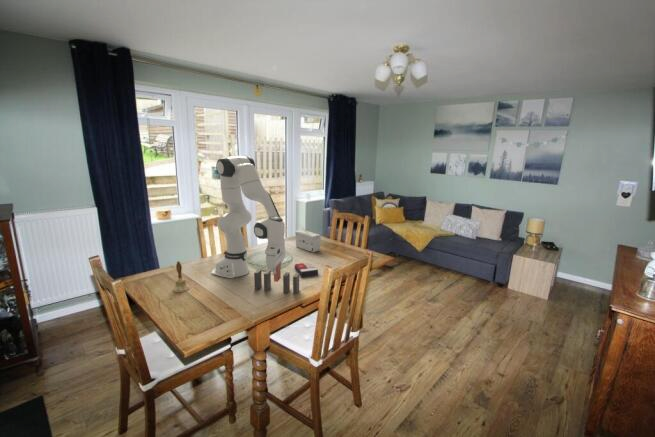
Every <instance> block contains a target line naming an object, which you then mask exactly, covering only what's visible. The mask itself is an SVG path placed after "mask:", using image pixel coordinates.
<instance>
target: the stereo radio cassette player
mask: <svg viewBox="0 0 655 437" xmlns="http://www.w3.org/2000/svg"><path fill="white" fill-rule="evenodd" d="M296 223H297V224H299V223H298V222H296ZM300 227H301V228H302V229H298V230H295V246H296V248H299V249H302V250H305V251H308V252H311V253H315V252H319V251H320V250H321V241H322V240H321V239H322V238H321V234H318V233H315V232H312V231H309V230H306V229H305V228H304V227H302V225H300Z"/></svg>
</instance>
